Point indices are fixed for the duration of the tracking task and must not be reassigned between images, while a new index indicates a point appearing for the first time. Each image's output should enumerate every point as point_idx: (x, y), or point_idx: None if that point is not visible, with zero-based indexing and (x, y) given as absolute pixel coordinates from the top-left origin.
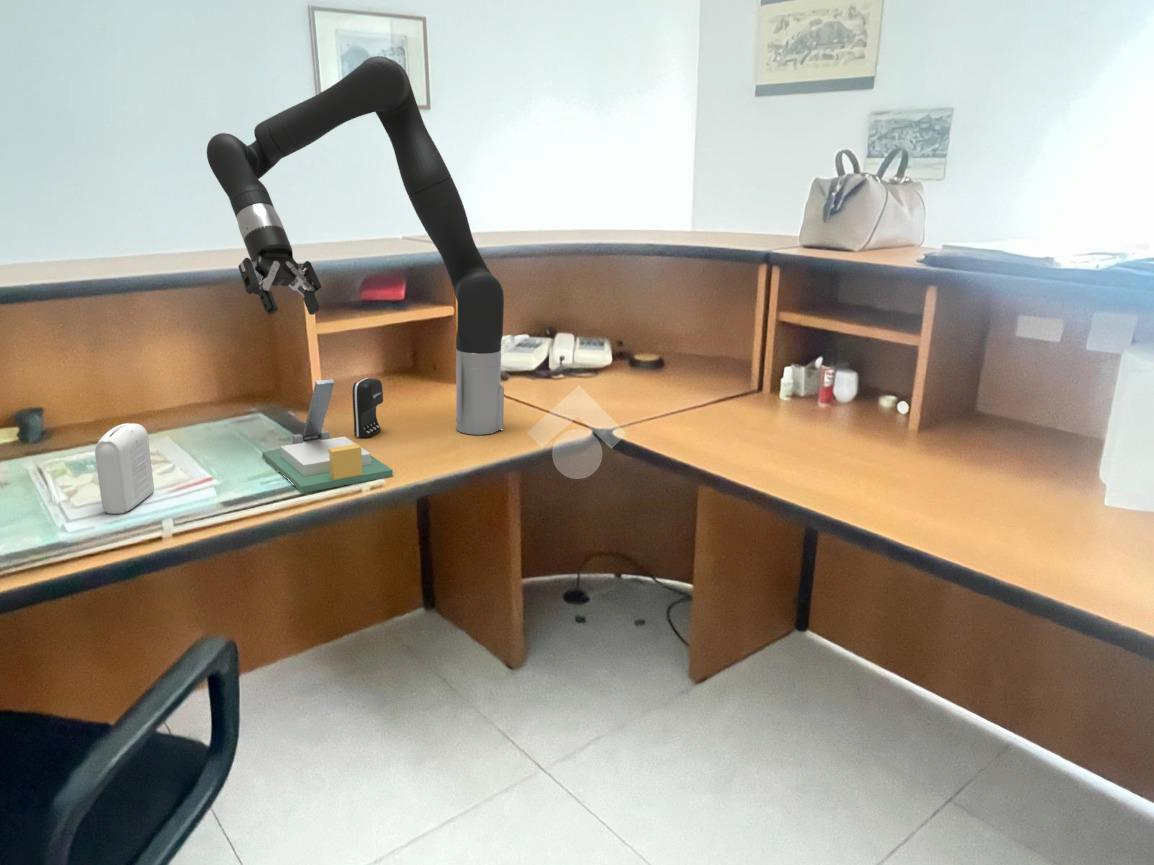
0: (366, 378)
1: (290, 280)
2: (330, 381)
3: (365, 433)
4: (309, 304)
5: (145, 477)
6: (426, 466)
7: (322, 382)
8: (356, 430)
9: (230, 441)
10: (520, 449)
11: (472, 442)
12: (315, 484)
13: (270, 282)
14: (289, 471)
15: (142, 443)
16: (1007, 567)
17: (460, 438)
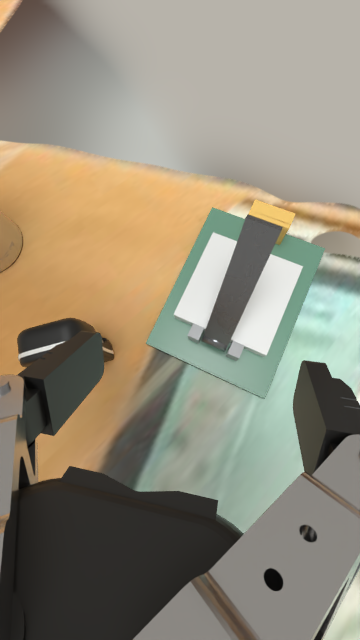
0: (33, 350)
1: (91, 473)
2: (253, 218)
3: (107, 340)
4: (81, 374)
5: None
6: (160, 205)
7: (270, 223)
8: (110, 353)
9: (237, 512)
10: (46, 160)
11: (49, 218)
12: (307, 242)
13: (323, 482)
14: (298, 300)
15: None
16: None
17: (42, 240)
